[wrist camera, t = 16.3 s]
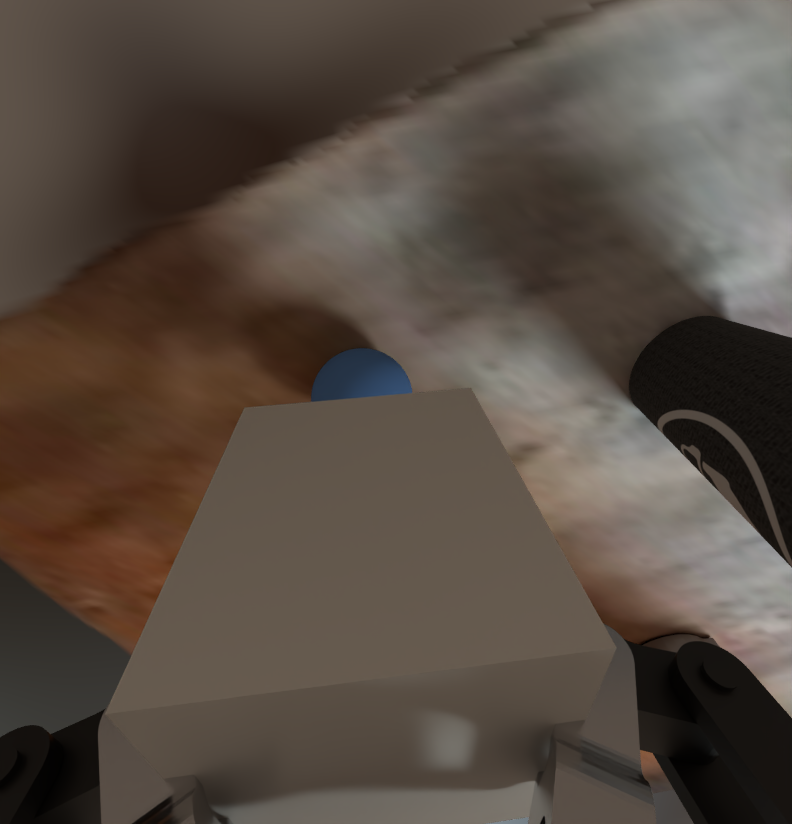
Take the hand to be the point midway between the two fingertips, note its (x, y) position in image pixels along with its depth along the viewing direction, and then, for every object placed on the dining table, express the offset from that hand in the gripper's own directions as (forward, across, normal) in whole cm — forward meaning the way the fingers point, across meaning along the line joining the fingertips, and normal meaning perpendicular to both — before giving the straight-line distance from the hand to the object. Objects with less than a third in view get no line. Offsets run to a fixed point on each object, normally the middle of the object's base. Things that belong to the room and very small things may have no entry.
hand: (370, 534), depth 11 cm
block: (+2, 0, 0) cm, 2 cm away
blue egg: (+9, 0, +1) cm, 9 cm away
